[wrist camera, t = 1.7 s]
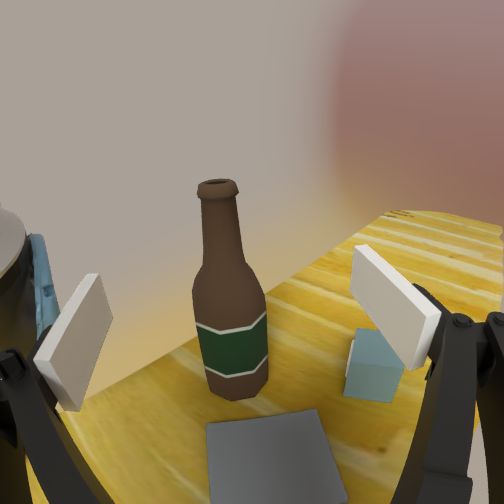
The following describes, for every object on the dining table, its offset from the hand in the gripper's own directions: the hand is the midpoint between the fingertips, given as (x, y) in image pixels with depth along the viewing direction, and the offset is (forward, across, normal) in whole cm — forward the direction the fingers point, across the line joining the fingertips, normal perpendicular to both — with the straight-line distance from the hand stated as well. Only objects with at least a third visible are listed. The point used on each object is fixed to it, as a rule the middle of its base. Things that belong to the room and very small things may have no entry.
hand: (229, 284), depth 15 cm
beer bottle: (+14, 0, -22) cm, 26 cm away
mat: (+1, +2, -21) cm, 21 cm away
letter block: (+9, +16, -22) cm, 28 cm away
